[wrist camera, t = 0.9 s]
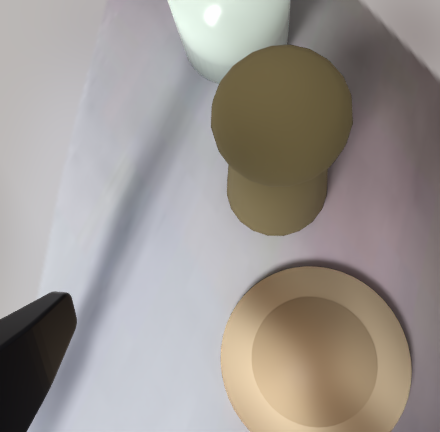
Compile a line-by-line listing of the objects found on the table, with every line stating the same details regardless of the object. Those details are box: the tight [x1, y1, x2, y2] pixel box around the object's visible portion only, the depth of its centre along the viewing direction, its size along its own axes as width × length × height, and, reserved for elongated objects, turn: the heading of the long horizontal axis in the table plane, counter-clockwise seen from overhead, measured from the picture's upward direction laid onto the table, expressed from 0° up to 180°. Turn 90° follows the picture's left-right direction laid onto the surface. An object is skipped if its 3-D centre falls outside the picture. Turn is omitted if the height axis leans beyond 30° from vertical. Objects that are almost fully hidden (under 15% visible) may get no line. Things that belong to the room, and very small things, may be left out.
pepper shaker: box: [211, 45, 353, 236], centre depth 18 cm, size 6×6×11 cm
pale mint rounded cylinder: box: [168, 0, 291, 84], centre depth 23 cm, size 7×7×6 cm
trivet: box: [221, 266, 412, 432], centre depth 21 cm, size 10×10×1 cm
